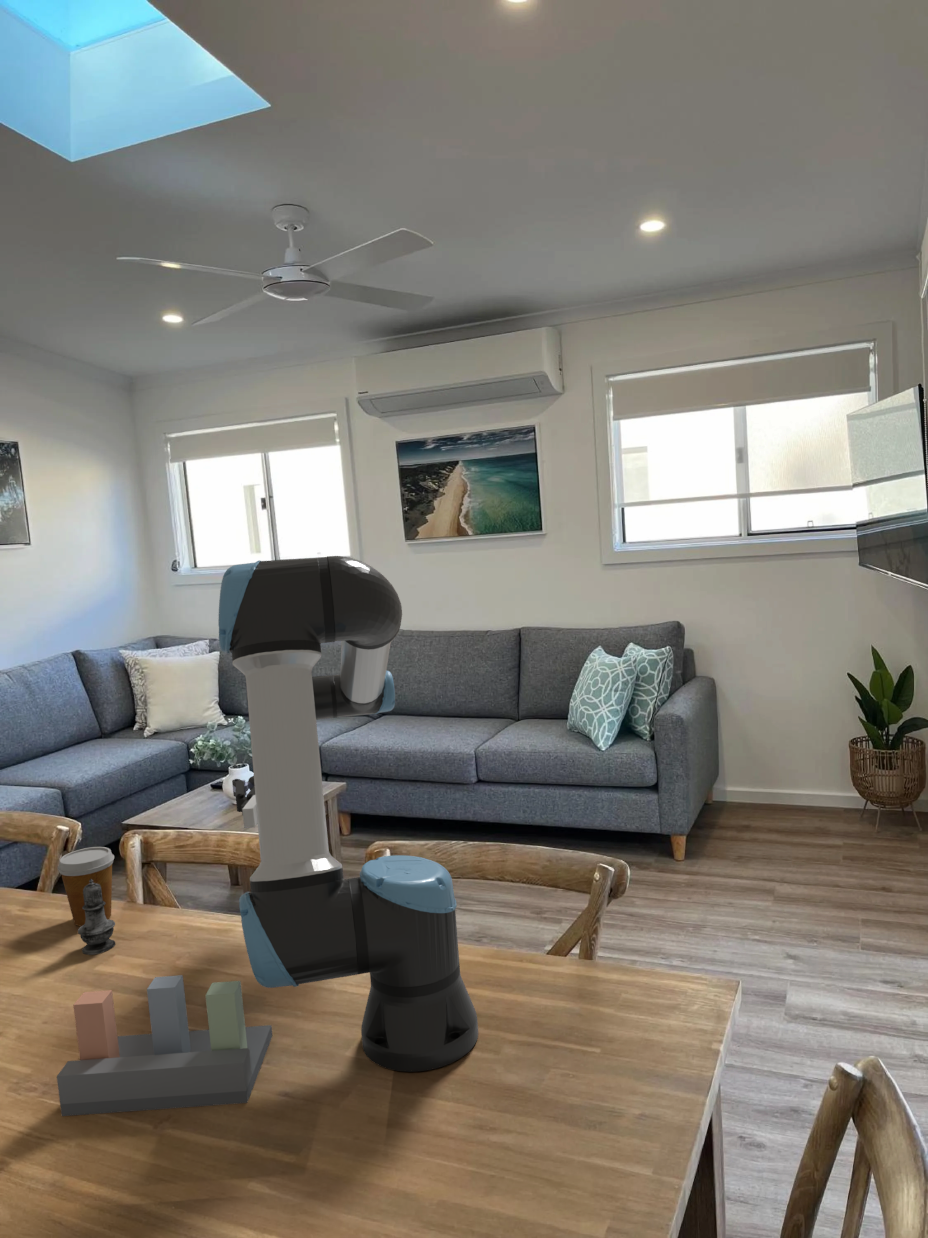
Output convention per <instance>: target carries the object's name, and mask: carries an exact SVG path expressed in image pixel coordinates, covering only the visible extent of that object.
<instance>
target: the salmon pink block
mask: <svg viewBox="0 0 928 1238" xmlns="http://www.w3.org/2000/svg"><path fill="white" fill-rule="evenodd" d="M115 1013H116V1012H115V1005H114V996H113V990H112V989H109V990H95V991H84V992H83V993H82V994H81V995H80V996H79V997H78V999H77V1000H76V1001H75V1002H74V1004H73V1014H74V1021H75V1028H76V1029H75V1030H76V1038H77V1047H78V1053H79V1054H78V1055H79V1060H90V1059H104V1058H118V1057H120V1054H119V1045H118V1037H117V1036H118V1031H117V1030H118V1029H117V1022H116V1021H117V1020H116V1014H115Z"/></svg>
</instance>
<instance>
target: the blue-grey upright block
mask: <svg viewBox="0 0 928 1238" xmlns="http://www.w3.org/2000/svg"><path fill="white" fill-rule="evenodd" d="M146 994H147V1002H148V1012H149V1018H150V1019H149V1021H150V1028H151V1029H150V1030H151V1034H152V1039H153V1048H154V1055H160V1054H173V1053H187V1052H190V1050H191V1046H190V1037H189V1031H190V1029H189V1022H188V1021H189V1020H188V1012H187V1004H186V994H185V983H184V976H183V974H179V975H167V976H155V977H154V978H153V979H152V981H151V983H150V984H149V986H148V987H147V988H146Z"/></svg>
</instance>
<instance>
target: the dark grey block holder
mask: <svg viewBox="0 0 928 1238" xmlns="http://www.w3.org/2000/svg"><path fill="white" fill-rule="evenodd" d="M245 1029H246V1039H247V1048H243V1049H229V1050H215V1051H211V1042H210V1033H209V1029H199V1030H189V1037H190V1046H191V1050H190V1052H187V1053H173V1054H160V1055H154V1048H153V1039H152V1033H145V1034H127V1035H117V1037H118V1045H119V1054H120V1057H118V1058H104V1059H90V1060H80V1059H79V1060H78V1059H77V1060H68V1061H67V1062H66V1063H65V1064H64V1066H63V1067H62V1068H61V1070H59V1073H58V1074H57V1075H56V1081H57V1090H58V1098H59V1106H60V1113H61V1114H60V1115H61V1117H68V1116H82V1115H83V1116H85V1115H97V1114H109V1113H110V1114H111V1113H124V1112H125V1113H126V1112H127V1113H128V1112H137V1111H138V1112H139V1111H152V1110H155V1111H156V1110H166V1109H167V1110H168V1109H179V1108H180V1109H181V1108H195V1107H206V1106H207V1107H209V1106H222V1105H224V1106H225V1105H234V1104H235V1105H236V1104H247V1103H248V1102H249V1100H250V1097H251V1094H252V1092H253V1089H254V1086H255V1084H256V1081H257V1078H258V1075H259V1072H260V1070H261V1068H262V1065H263V1061H264V1060H265V1057H266V1054H267V1051H268V1049H269V1046H270V1043H271V1041H272V1038H273V1037H274V1036H273V1027H272V1024H267V1025H265V1024H264V1025H254V1026H245Z"/></svg>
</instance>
